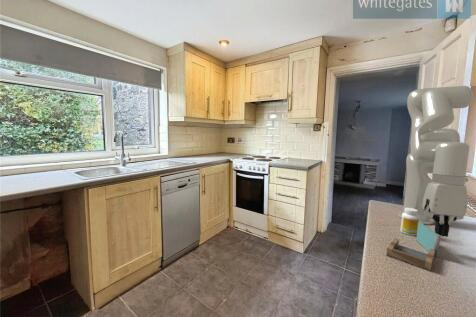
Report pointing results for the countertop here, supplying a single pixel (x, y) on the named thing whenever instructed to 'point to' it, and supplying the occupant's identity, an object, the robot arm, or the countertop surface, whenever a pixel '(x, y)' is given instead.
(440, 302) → the countertop surface
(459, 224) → the countertop surface
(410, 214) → the supplement bottle
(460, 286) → the countertop surface
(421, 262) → the bay
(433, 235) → the gate
